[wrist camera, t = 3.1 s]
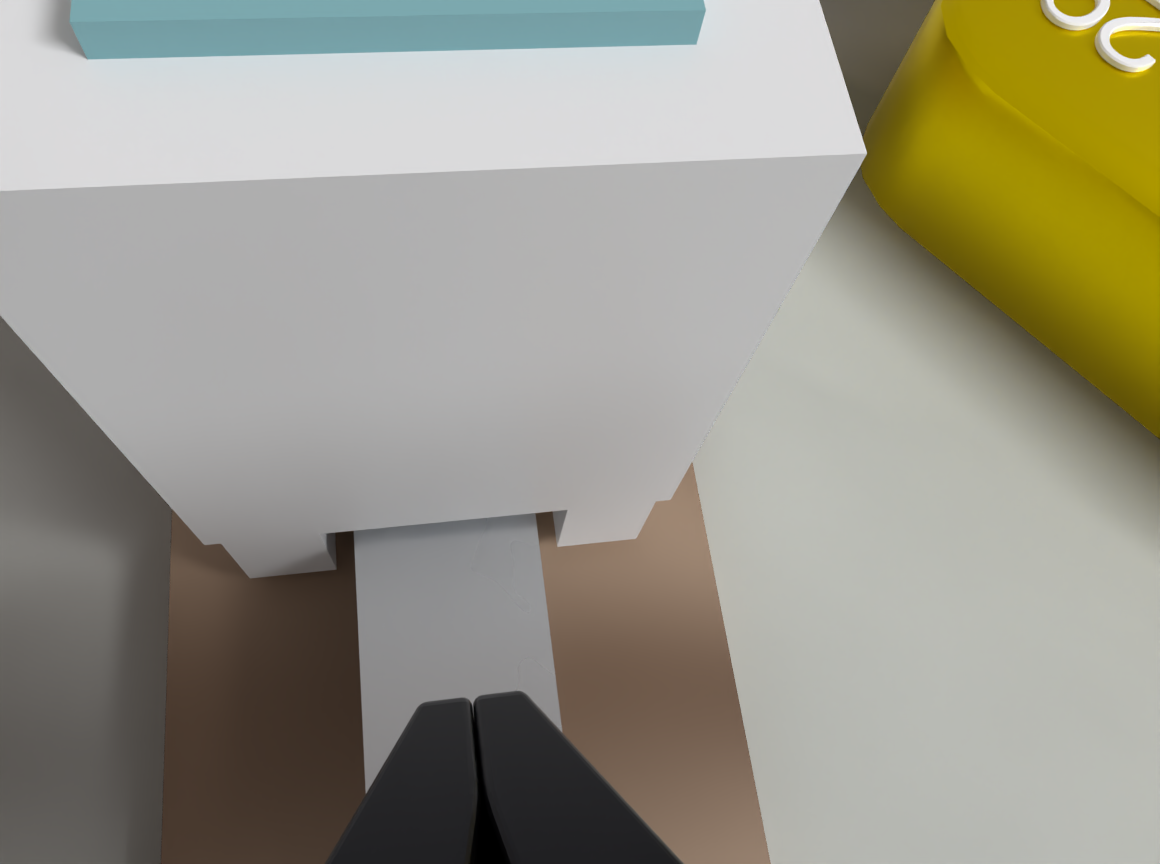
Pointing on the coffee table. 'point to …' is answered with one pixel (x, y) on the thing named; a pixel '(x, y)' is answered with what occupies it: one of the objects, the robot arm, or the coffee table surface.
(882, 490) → the coffee table surface
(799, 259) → the block
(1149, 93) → the element tile
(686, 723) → the mounting board
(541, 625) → the rail
